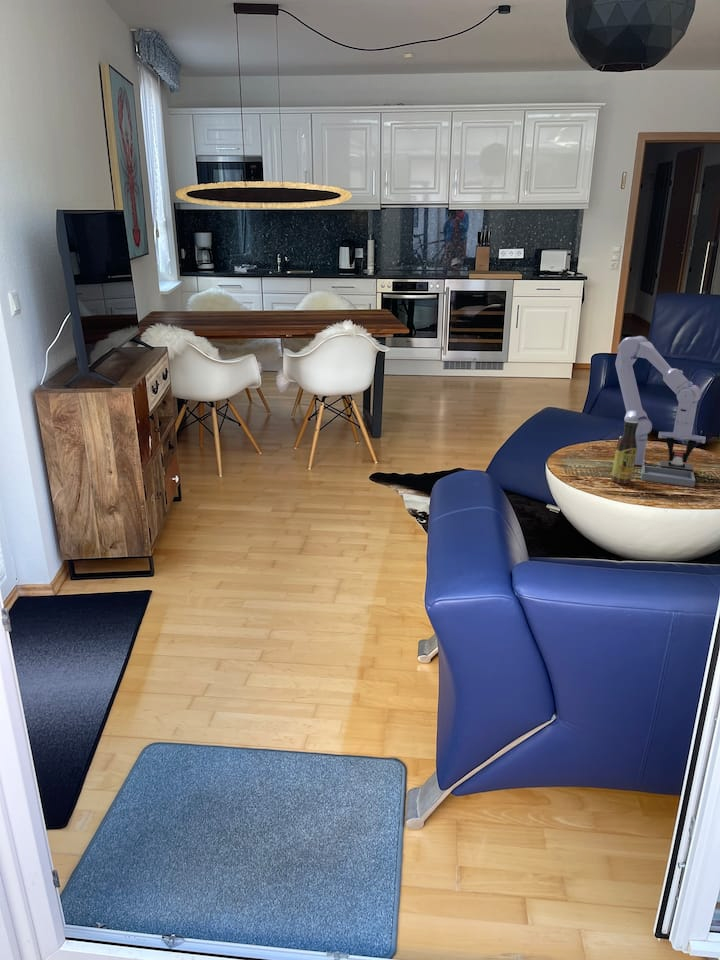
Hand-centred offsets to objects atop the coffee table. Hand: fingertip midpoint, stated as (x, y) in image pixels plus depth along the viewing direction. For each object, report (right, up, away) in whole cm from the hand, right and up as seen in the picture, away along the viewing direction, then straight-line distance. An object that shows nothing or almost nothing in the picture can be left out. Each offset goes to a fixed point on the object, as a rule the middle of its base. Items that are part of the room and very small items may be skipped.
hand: (677, 460), depth 246 cm
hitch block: (0, -4, +1) cm, 4 cm away
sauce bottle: (-24, -7, -13) cm, 28 cm away
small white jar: (0, -4, +1) cm, 4 cm away
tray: (-7, -6, -8) cm, 12 cm away
